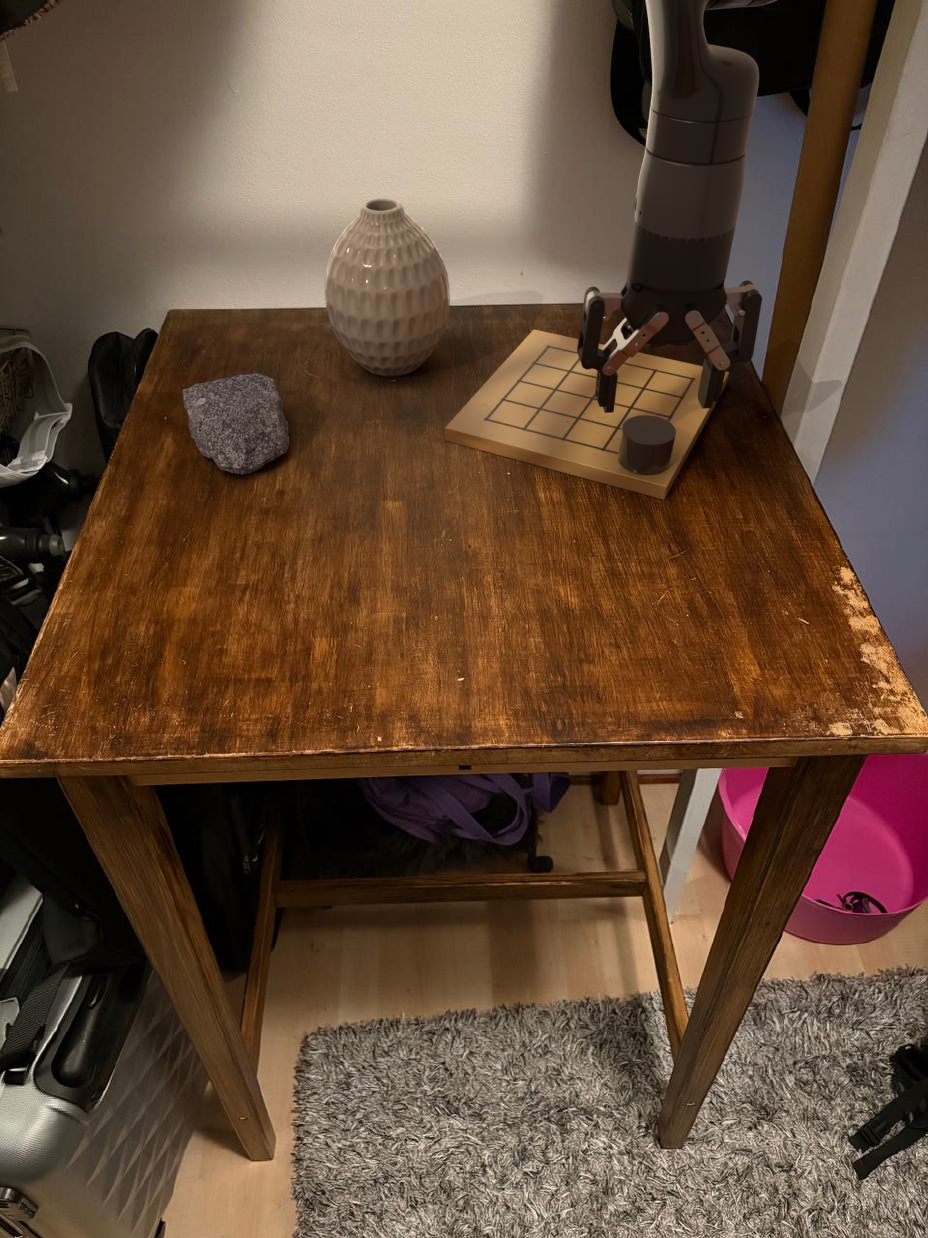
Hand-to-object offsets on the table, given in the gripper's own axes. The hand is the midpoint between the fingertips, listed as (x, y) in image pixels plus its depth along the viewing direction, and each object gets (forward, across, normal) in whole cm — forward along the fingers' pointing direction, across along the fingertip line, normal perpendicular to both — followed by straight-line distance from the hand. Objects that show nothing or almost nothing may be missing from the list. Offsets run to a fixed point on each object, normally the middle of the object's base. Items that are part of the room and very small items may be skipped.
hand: (656, 405), depth 79 cm
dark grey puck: (+6, 0, 0) cm, 6 cm away
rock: (+7, -37, +8) cm, 39 cm away
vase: (+7, -23, +22) cm, 33 cm away
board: (+7, -3, +11) cm, 14 cm away
